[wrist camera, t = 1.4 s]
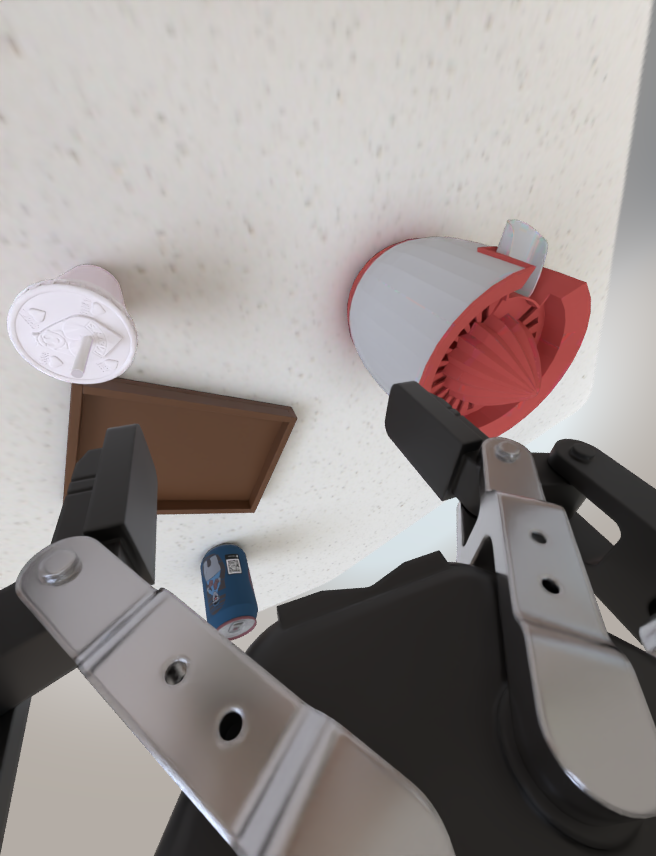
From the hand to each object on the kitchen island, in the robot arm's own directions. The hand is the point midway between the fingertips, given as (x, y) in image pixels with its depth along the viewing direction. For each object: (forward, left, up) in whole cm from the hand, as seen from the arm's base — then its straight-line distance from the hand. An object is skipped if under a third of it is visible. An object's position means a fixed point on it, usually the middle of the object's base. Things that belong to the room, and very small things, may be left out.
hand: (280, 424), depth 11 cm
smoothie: (-7, -6, -25) cm, 26 cm away
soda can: (+13, -43, -25) cm, 51 cm away
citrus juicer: (+20, +3, -25) cm, 32 cm away
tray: (+3, -22, -24) cm, 33 cm away
